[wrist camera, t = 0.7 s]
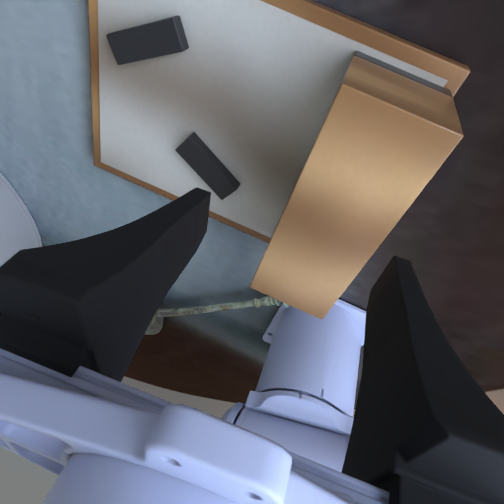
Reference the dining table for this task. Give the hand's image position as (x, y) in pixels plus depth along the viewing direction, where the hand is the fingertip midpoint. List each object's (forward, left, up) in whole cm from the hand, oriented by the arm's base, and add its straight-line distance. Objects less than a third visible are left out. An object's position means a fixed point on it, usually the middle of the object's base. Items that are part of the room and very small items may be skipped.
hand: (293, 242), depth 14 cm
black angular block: (-5, +6, -10) cm, 13 cm away
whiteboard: (-2, +5, -11) cm, 12 cm away
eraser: (-2, -2, -10) cm, 10 cm away
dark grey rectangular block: (+1, +11, -10) cm, 15 cm away
